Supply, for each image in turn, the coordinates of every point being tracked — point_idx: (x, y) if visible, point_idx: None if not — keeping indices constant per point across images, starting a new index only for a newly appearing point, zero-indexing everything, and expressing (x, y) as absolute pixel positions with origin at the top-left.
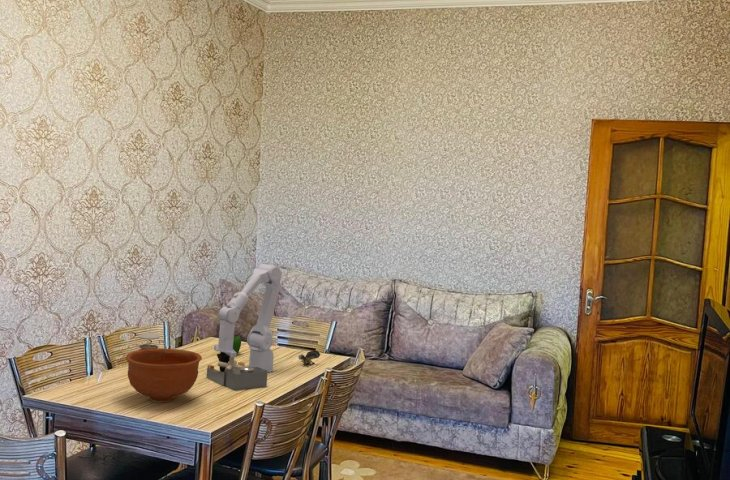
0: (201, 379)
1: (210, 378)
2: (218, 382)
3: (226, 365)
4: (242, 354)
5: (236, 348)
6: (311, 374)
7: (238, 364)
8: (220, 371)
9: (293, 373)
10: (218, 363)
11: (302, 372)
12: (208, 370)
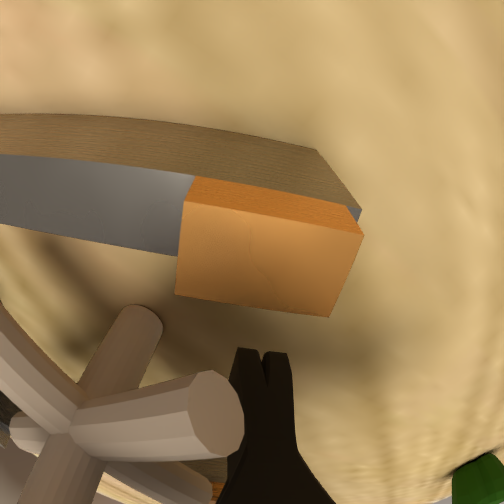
0: (279, 33)
1: (195, 129)
2: (3, 116)
3: (85, 416)
4: (441, 480)
5: (457, 492)
6: (113, 496)
7: (219, 486)
8: (271, 353)
9: (141, 493)
10: (181, 410)
11: (144, 501)
12: (282, 173)
